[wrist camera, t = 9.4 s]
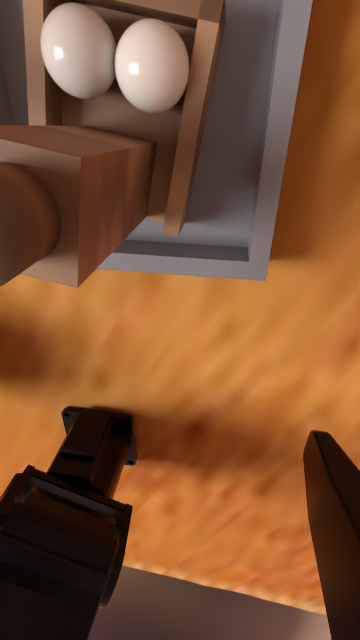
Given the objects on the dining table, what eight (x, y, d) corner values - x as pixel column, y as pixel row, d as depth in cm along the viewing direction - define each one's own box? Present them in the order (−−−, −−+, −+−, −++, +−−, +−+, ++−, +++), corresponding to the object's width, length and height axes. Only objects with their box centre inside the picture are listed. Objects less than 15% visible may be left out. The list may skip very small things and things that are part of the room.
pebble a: (197, 104, 15) (206, 72, 12) (139, 135, 15) (133, 111, 12) (168, 32, 14) (170, -20, 11) (107, 66, 14) (93, 23, 11)
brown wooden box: (184, 223, 19) (121, 347, 8) (58, 192, 19) (-166, 276, 8) (226, 16, 14) (203, -329, 3) (56, -21, 14) (-473, -464, 4)
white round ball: (140, 87, 14) (111, 47, 11) (85, 123, 15) (46, 95, 12) (110, 17, 14) (74, -41, 11) (56, 59, 15) (9, 15, 12)
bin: (261, 261, 20) (265, 281, 17) (31, 245, 21) (4, 261, 19) (335, -213, 11) (365, -315, 8) (-63, -176, 13) (-138, -252, 10)
